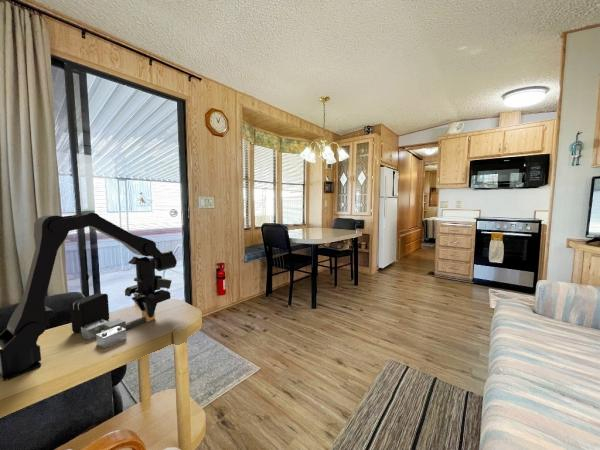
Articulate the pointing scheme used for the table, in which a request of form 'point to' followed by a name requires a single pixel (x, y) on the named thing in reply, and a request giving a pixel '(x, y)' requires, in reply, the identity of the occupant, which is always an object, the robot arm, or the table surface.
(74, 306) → the electronic device
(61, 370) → the table surface
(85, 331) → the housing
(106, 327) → the orange and grey dumbbell
